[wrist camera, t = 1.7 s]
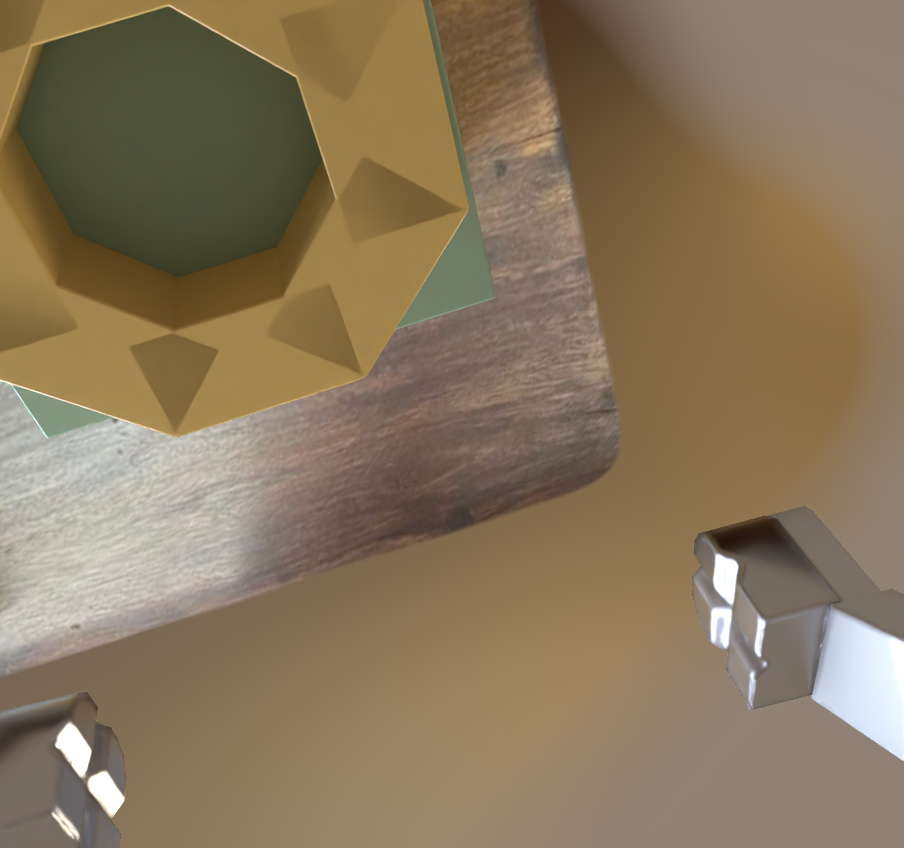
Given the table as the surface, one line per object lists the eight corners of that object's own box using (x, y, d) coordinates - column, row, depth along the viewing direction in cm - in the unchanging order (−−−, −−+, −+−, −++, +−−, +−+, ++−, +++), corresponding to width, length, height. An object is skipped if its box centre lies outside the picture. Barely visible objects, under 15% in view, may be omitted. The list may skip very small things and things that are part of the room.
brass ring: (346, -244, 16) (367, -252, 14) (471, 286, 23) (498, 336, 21) (-262, -71, 16) (-340, -52, 14) (56, 417, 23) (39, 482, 21)
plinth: (322, -261, 23) (368, -293, 16) (433, 186, 31) (496, 299, 24) (-149, -128, 23) (-319, -99, 15) (86, 292, 30) (46, 440, 23)
